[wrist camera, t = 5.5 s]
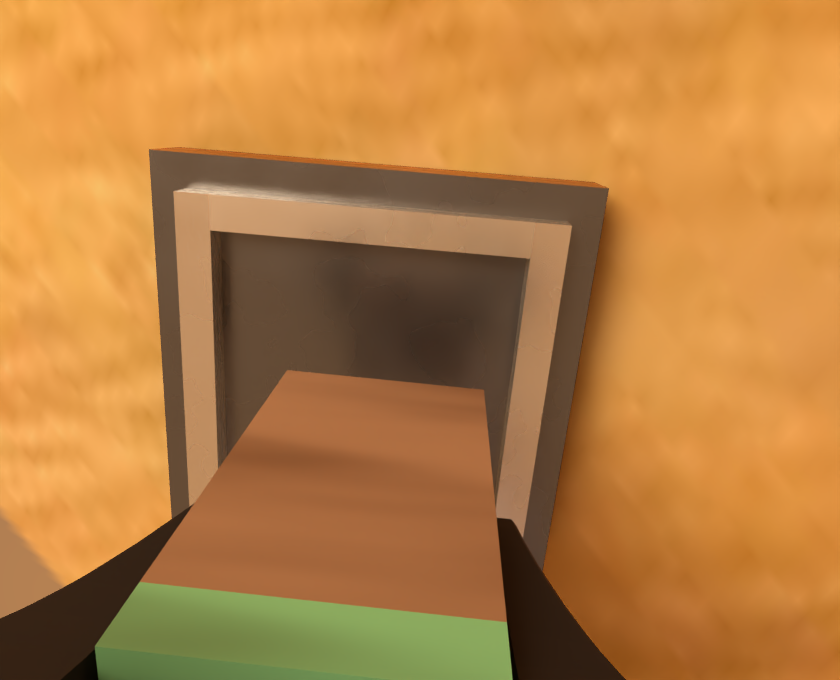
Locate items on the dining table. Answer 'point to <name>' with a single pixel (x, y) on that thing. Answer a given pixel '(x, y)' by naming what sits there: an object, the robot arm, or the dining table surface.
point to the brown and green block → (331, 547)
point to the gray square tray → (372, 300)
